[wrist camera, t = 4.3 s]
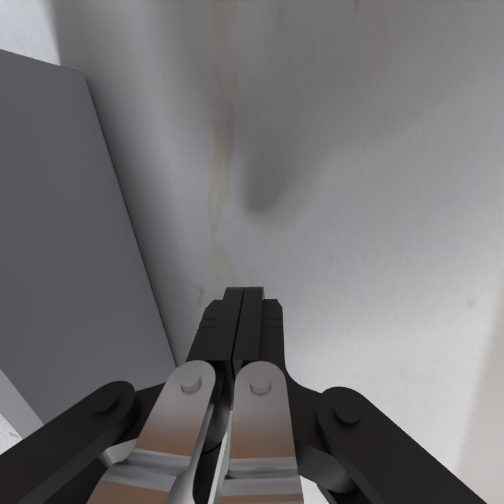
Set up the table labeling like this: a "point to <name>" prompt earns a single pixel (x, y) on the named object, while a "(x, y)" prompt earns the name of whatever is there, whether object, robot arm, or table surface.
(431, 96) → the table surface
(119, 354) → the white drawer
